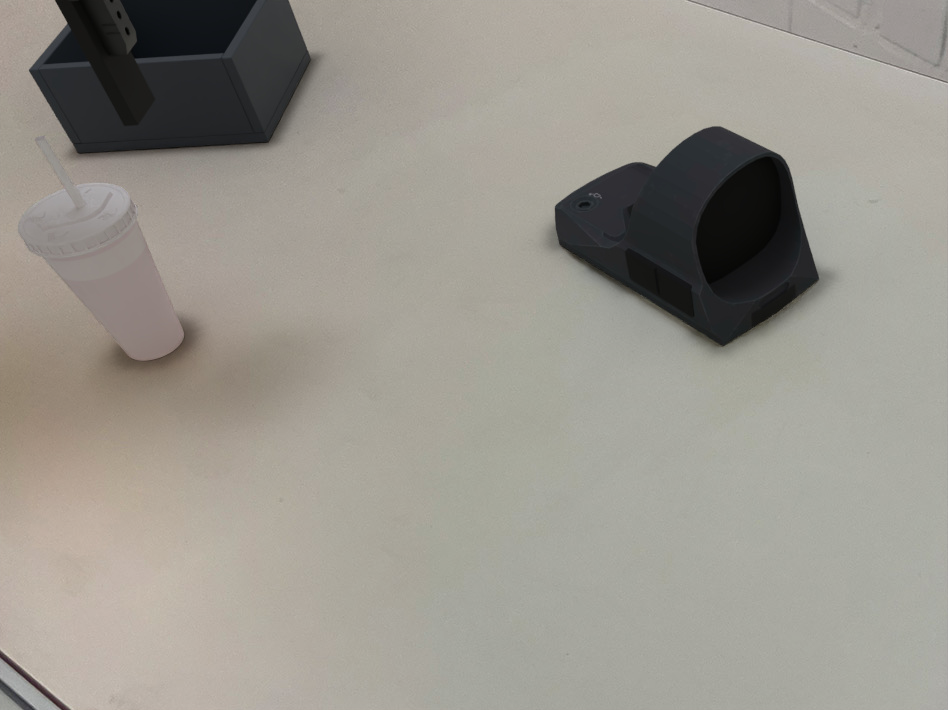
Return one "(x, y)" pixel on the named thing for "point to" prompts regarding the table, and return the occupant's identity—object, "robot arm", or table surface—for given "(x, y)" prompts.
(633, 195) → the sight
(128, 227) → the smoothie
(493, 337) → the table surface
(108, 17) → the robot arm
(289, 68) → the bin
